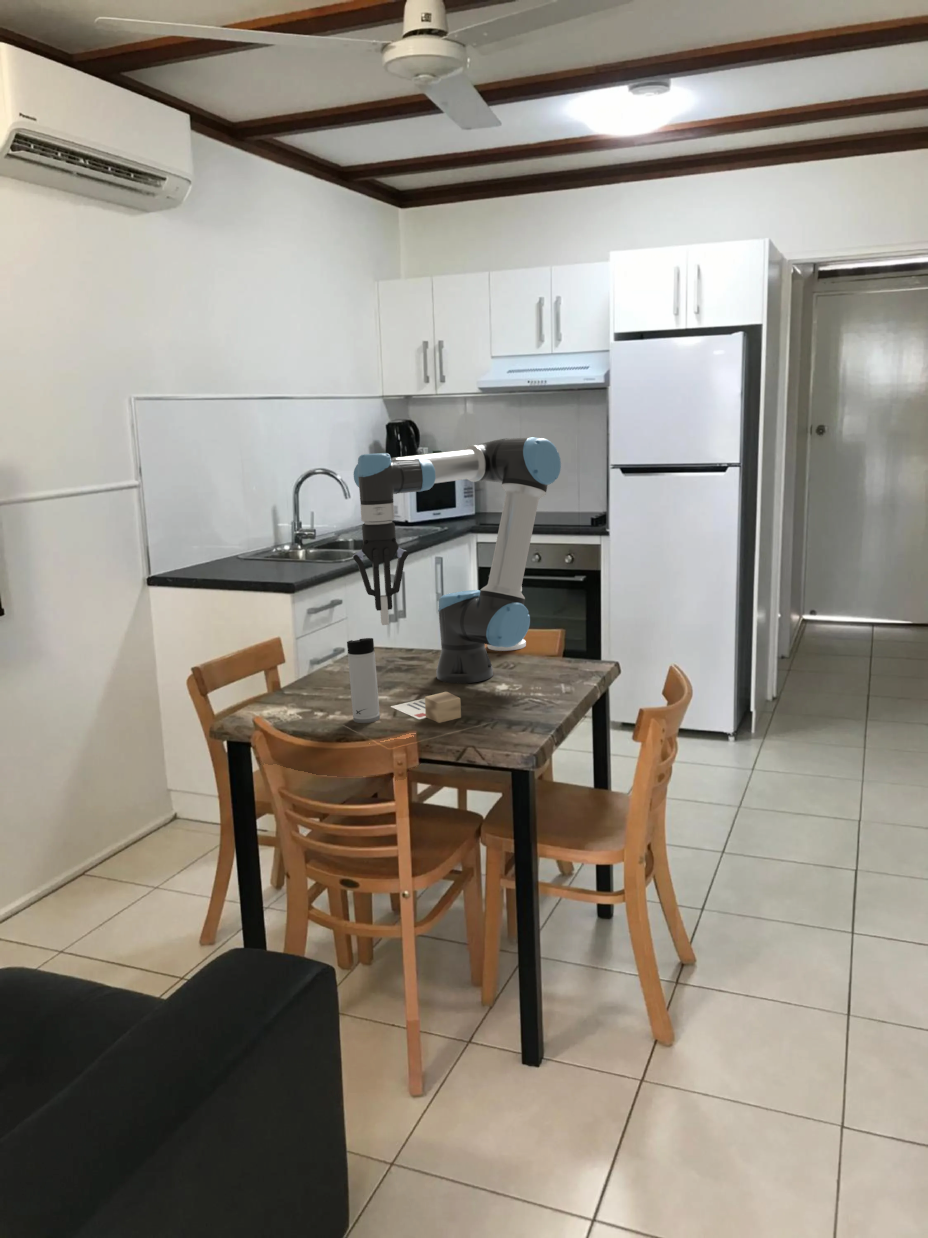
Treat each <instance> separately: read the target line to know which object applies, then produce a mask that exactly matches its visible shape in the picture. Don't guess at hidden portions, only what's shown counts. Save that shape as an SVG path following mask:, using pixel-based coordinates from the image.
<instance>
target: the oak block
mask: <svg viewBox="0 0 928 1238" xmlns="http://www.w3.org/2000/svg"><path fill="white" fill-rule="evenodd" d="M424 698H425V711H426V717H427V719H429V720H432V721H434V722H436V723H438V724H441V723H446V722H448V721H454V720H456V719H461V718H462V710H461V708H462V704H461V698H460V697H458V696H457V695H455V694H453V693H450V692H448V691H444V692H443V691H442V692H439V693H435V694H432V695H430V694H429V695H427V696H426V695H425V696H424Z"/></svg>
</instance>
